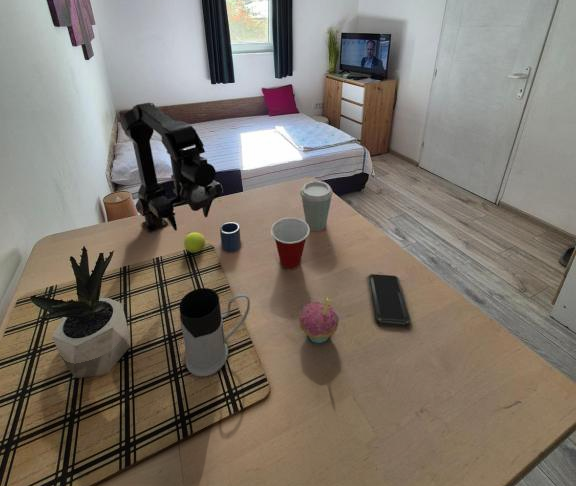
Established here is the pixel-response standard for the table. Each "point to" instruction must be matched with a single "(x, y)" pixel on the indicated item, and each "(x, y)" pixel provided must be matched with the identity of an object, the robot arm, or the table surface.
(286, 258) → the plastic cup
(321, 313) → the cupcake
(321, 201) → the disposable coffee cup
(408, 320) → the phone
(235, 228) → the tumbler
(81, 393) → the table surface
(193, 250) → the ball
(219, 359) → the grey mug
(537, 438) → the table surface
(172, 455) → the table surface
